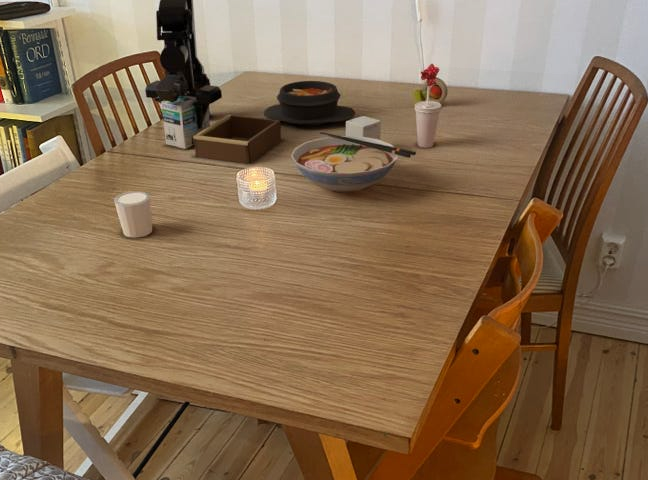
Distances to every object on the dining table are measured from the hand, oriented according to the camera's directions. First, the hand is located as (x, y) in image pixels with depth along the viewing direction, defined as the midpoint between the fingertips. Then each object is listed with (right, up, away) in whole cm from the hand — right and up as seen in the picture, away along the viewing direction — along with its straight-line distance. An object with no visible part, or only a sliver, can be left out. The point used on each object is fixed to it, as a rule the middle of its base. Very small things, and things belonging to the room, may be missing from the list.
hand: (187, 126), depth 185 cm
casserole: (+31, +6, +14) cm, 34 cm away
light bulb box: (0, -3, +2) cm, 4 cm away
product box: (+44, -8, -7) cm, 45 cm away
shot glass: (-3, -33, -40) cm, 52 cm away
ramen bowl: (+38, -21, -25) cm, 50 cm away
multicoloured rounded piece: (+65, +13, +21) cm, 69 cm away
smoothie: (+59, -6, -5) cm, 60 cm away
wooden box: (+13, -6, -3) cm, 15 cm away
